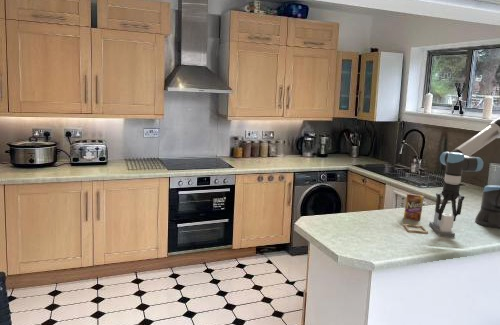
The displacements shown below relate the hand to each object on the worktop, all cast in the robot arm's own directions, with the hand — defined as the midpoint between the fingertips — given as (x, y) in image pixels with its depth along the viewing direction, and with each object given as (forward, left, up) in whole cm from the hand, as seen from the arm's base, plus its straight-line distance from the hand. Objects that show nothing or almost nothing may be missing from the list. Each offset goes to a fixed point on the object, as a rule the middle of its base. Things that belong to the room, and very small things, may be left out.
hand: (445, 226), depth 216 cm
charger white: (0, 0, -3) cm, 3 cm away
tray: (+14, -2, -5) cm, 15 cm away
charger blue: (0, -9, -4) cm, 10 cm away
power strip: (0, -8, -5) cm, 9 cm away
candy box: (+10, -23, -5) cm, 26 cm away
